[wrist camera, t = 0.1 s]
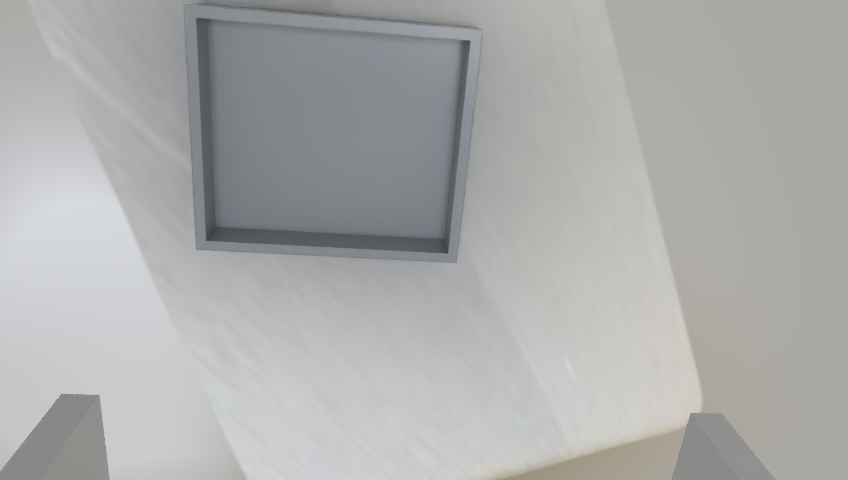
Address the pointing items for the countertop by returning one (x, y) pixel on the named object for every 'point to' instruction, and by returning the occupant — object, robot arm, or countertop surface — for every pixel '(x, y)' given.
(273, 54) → the tray
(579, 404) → the countertop surface
